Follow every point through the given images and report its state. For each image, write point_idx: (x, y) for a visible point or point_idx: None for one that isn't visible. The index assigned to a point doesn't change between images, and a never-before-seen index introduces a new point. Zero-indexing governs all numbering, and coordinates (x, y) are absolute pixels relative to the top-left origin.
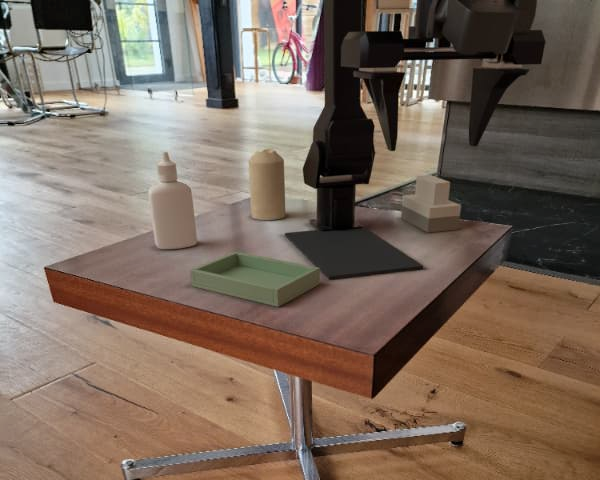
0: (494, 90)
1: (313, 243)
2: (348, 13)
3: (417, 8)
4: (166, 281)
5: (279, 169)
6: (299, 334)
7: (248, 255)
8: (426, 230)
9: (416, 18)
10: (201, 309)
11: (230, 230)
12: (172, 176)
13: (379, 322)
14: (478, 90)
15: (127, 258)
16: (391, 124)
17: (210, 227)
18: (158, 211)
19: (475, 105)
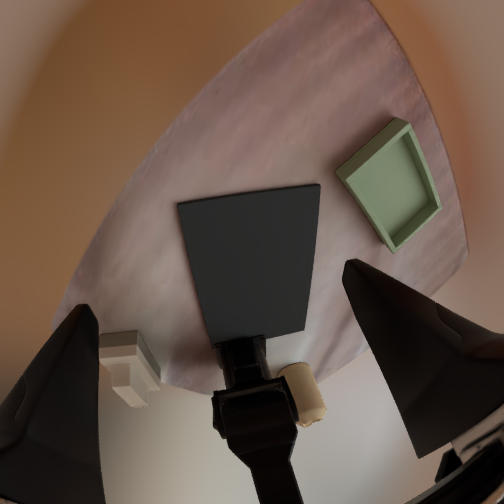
0: (14, 432)
1: (290, 300)
2: None
3: None
4: (439, 216)
5: (299, 407)
6: (397, 44)
7: (390, 239)
8: (138, 333)
9: None
10: (443, 141)
11: (341, 338)
12: None
13: (312, 31)
14: (78, 460)
15: (434, 273)
16: (409, 291)
17: (352, 343)
18: None
19: (82, 420)
